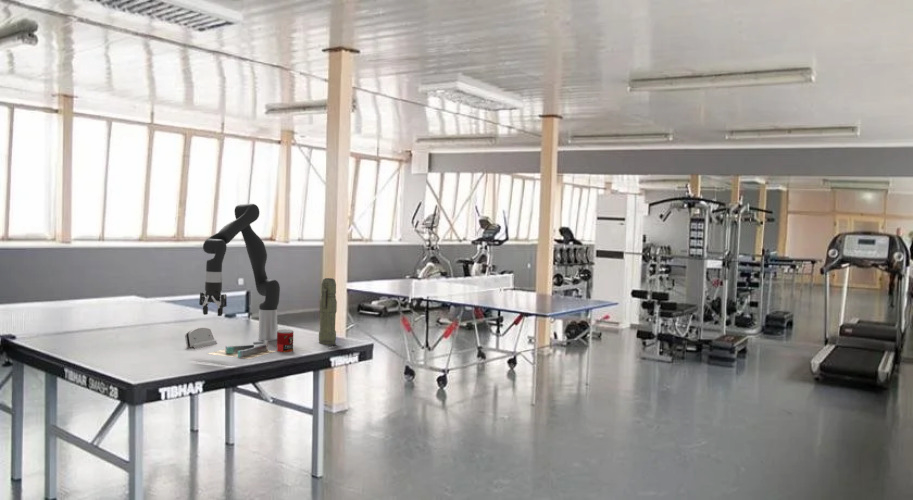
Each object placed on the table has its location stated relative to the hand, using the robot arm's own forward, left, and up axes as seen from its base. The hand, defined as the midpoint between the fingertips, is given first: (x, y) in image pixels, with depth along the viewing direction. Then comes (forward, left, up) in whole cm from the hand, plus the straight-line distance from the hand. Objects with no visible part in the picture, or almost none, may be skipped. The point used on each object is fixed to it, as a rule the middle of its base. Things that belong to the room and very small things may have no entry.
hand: (212, 315), depth 323 cm
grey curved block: (-16, -20, -19) cm, 32 cm away
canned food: (-20, +28, -19) cm, 39 cm away
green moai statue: (-49, +34, -19) cm, 63 cm away
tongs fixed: (-5, +20, -17) cm, 27 cm away
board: (-5, +13, -19) cm, 23 cm away
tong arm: (-6, +14, -17) cm, 23 cm away
